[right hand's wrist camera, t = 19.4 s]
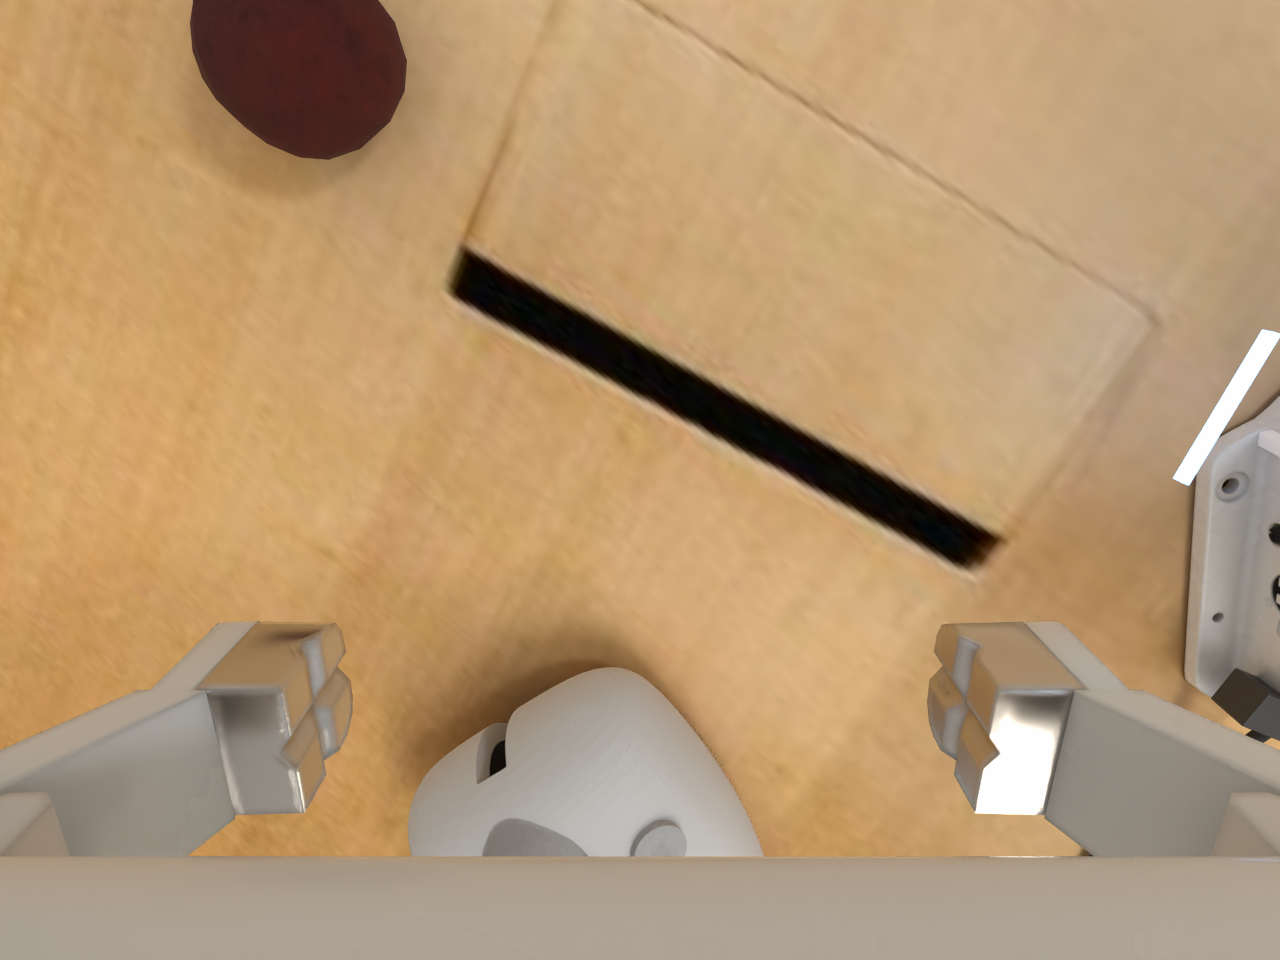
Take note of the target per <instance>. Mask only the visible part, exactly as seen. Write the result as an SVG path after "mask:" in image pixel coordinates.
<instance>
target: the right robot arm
mask: <svg viewBox="0 0 1280 960" xmlns="http://www.w3.org/2000/svg"><path fill="white" fill-rule="evenodd" d="M1279 337H1280V334H1279V333H1276V332H1272V331H1267V330H1262V331H1261V333H1260V334H1259V336H1258V338H1257V339H1256V341H1255V343H1254V344H1253V346H1252V348H1251V349H1250V351H1249V353H1248V354H1247V356H1246V358H1245V359H1244V361H1243V363H1242V364H1241V366H1240V368H1239V369H1238V371H1237V373H1236V374H1235V376H1234V378H1233V379H1232V381H1231V382H1230V384H1229V386H1228V387H1227V389H1226V391H1225V392H1224V394H1223V396H1222V397H1221V399H1220V401H1219V402H1218V404H1217V406H1216V407H1215V409H1214V411H1213V412H1212V414H1211V416H1210V417H1209V419H1208V421H1207V422H1206V424H1205V426H1204V427H1203V429H1202V431H1201V432H1200V434H1199V436H1198V437H1197V439H1196V441H1195V442H1194V444H1193V446H1192V447H1191V449H1190V451H1189V452H1188V454H1187V456H1186V457H1185V459H1184V461H1183V462H1182V464H1181V466H1180V467H1179V469H1178V471H1177V472H1176V474H1175V476H1174V477H1173V478H1174V479H1175V480H1177V481H1179V482H1181V483H1183V484H1186V485H1190V483H1191V481H1192V480H1193V478H1194V476H1195V475H1196V487H1195V503H1194V519H1193V535H1192V551H1191V567H1190V583H1189V599H1188V615H1187V631H1186V647H1185V666H1184V672H1185V679H1186V681H1187V682H1188V683H1189V684H1191V685H1192V686H1194V687H1195V688H1197V689H1198V690H1199V691H1201V692H1202V693H1204V694H1206V695H1207V696H1209V697H1210V698H1211V699H1212V700H1213V701H1214V702H1215V703H1216V704H1218V705H1219V706H1220V707H1221V708H1222V709H1223V710H1224V711H1226V712H1227V713H1228V714H1229V715H1230V716H1231V717H1233V718H1234V719H1235V720H1236V721H1237V722H1238V723H1239V724H1241V725H1242V726H1244V727H1246V728H1249V729H1251V731H1250V732H1249V733H1247V734H1246V735H1244V734H1241V733H1239V732H1237V731H1234V730H1232V729H1230V728H1228V727H1225V726H1223V725H1221V724H1218V723H1216V722H1214V721H1212V720H1209V719H1207V718H1205V717H1202V716H1200V715H1198V714H1196V713H1193V712H1191V711H1189V710H1187V709H1184V708H1182V707H1180V706H1177V705H1175V704H1173V703H1171V702H1168V701H1166V700H1164V699H1161V698H1159V697H1157V696H1155V695H1152V694H1150V693H1148V692H1145V691H1143V690H1129V689H1128V688H1127V687H1126V686H1125V685H1124V684H1123V683H1122V682H1121V681H1120V680H1119V679H1118V678H1117V677H1116V676H1115V675H1114V674H1113V673H1112V672H1111V671H1110V670H1109V669H1108V668H1107V667H1106V666H1105V665H1104V664H1103V663H1102V662H1101V661H1100V660H1099V659H1098V658H1097V657H1096V656H1095V655H1094V654H1093V653H1092V652H1091V651H1090V650H1089V649H1088V648H1087V647H1086V646H1085V645H1084V644H1083V643H1082V642H1081V641H1080V640H1079V639H1078V638H1077V637H1076V636H1075V635H1074V634H1073V633H1072V632H1071V631H1070V630H1069V629H1068V628H1067V627H1066V626H1065V625H1064V624H1061V623H1058V622H1055V621H1037V622H1002V623H962V624H943V625H941V627H940V630H939V632H938V634H937V637H936V643H935V649H934V652H935V654H936V656H937V657H938V659H939V660H940V662H941V663H942V665H943V667H942V668H941V669H940V670H939V671H938V672H937V673H936V674H935V675H934V676H933V677H932V678H931V679H930V681H929V690H928V698H927V705H928V716H929V723H930V726H931V730H932V733H933V736H934V738H935V740H936V742H937V744H938V746H939V748H940V750H941V751H943V752H944V753H946V754H947V755H949V756H950V757H952V758H953V759H955V760H956V766H955V772H954V775H955V777H956V779H957V781H958V783H959V784H960V786H961V788H962V790H963V792H964V793H965V795H966V797H967V799H968V801H969V802H970V804H971V806H972V808H973V809H974V811H975V813H990V814H1027V815H1045V819H1046V820H1048V821H1049V822H1050V823H1052V824H1053V825H1054V826H1055V827H1057V828H1058V829H1059V830H1061V831H1062V832H1063V833H1064V834H1066V835H1067V836H1068V837H1070V838H1071V839H1072V840H1073V841H1075V842H1076V843H1077V844H1078V845H1080V846H1081V847H1082V848H1084V849H1085V850H1086V851H1087V852H1089V853H1090V855H1089V856H188V855H189V854H190V853H191V852H193V851H194V850H195V849H197V848H198V847H199V846H200V845H202V844H203V843H204V842H206V841H207V840H208V839H209V838H211V837H212V836H213V835H215V834H216V833H217V832H218V831H220V830H221V829H222V828H224V827H225V826H226V825H227V824H229V823H230V822H231V821H233V820H234V819H235V815H252V814H288V813H305V811H306V810H307V808H308V806H309V804H310V802H311V801H312V799H313V797H314V795H315V793H316V792H317V790H318V788H319V786H320V784H321V783H322V781H323V779H324V777H325V775H326V772H325V766H324V760H325V759H327V758H328V757H330V756H331V755H333V754H334V753H336V752H337V751H339V750H340V748H341V746H342V744H343V742H344V740H345V738H346V736H347V734H348V730H349V725H350V721H351V717H352V700H353V695H352V688H351V681H350V679H349V678H348V677H347V676H346V675H345V674H344V673H343V672H342V671H341V670H340V669H339V668H338V667H337V665H338V663H339V662H340V660H341V659H342V657H343V656H344V654H345V652H346V649H345V644H344V639H343V634H342V630H341V629H340V628H339V627H338V626H337V625H336V623H305V622H260V621H238V622H223V623H218V624H217V625H216V626H215V627H214V628H213V629H212V630H211V631H210V632H209V633H208V634H207V635H206V636H205V637H204V638H203V639H202V640H201V641H199V642H198V643H197V644H196V645H195V646H194V647H193V648H192V649H191V650H190V651H189V652H188V653H187V654H186V655H185V656H184V657H183V658H182V659H181V660H180V661H179V662H178V663H177V664H176V665H175V666H174V667H173V668H172V669H171V670H170V671H169V672H168V673H167V674H166V675H165V676H164V677H163V678H162V679H161V680H160V681H159V682H158V683H157V684H156V685H155V686H154V687H153V688H152V689H151V690H137V691H135V692H132V693H130V694H128V695H125V696H123V697H121V698H119V699H116V700H114V701H112V702H109V703H107V704H105V705H103V706H100V707H98V708H96V709H93V710H91V711H89V712H87V713H84V714H82V715H80V716H77V717H75V718H73V719H71V720H68V721H66V722H64V723H61V724H59V725H57V726H54V727H52V728H50V729H48V730H45V731H43V732H41V733H38V734H36V735H34V736H32V737H29V738H27V739H25V740H22V741H20V742H18V743H16V744H13V745H11V746H9V747H6V748H4V749H2V750H0V960H1280V750H1278V749H1275V748H1273V747H1271V746H1269V745H1266V744H1264V742H1265V741H1267V740H1268V739H1270V738H1274V739H1276V740H1279V741H1280V395H1279V396H1278V397H1277V398H1276V399H1275V400H1274V401H1273V402H1272V403H1271V404H1270V405H1269V406H1268V407H1267V408H1266V409H1265V410H1264V411H1263V412H1262V413H1260V414H1259V415H1258V416H1257V417H1255V418H1254V419H1252V420H1250V421H1248V422H1246V423H1244V424H1242V425H1241V426H1239V427H1237V428H1235V429H1233V430H1231V431H1229V432H1228V433H1226V434H1224V435H1222V436H1221V437H1219V435H1220V434H1221V432H1222V431H1223V429H1224V427H1225V426H1226V424H1227V422H1228V421H1229V419H1230V417H1231V416H1232V414H1233V413H1234V411H1235V409H1236V408H1237V406H1238V404H1239V403H1240V401H1241V399H1242V398H1243V396H1244V395H1245V393H1246V391H1247V390H1248V388H1249V386H1250V385H1251V383H1252V381H1253V380H1254V378H1255V377H1256V375H1257V373H1258V372H1259V370H1260V368H1261V367H1262V365H1263V363H1264V362H1265V360H1266V359H1267V357H1268V355H1269V354H1270V352H1271V350H1272V349H1273V347H1274V346H1275V344H1276V342H1277V341H1278V339H1279ZM1218 437H1219V438H1218ZM1227 479H1229V481H1228V483H1227V485H1226V486H1224V487H1223V488H1222V485H1223V483H1224V482H1225V481H1226V480H1227Z"/></svg>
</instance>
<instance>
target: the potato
mask: <svg viewBox="0 0 1280 960" xmlns="http://www.w3.org/2000/svg"><path fill="white" fill-rule="evenodd" d="M190 27H191V38H192V49H193V53H194V56H195V59H196V62H197V64H198V67H199V70H200V73H201V76H202V78H203V80H204V81H205V83H206V84H207V86H208V87H209V89H210V91H211V92H212V94H213V95H214V97H215V98H216V100H217V101H218V102H219V103H220V104H221V105H222V106H223V107H224V108H225V109H227V110H228V111H229V112H230V113H231V114H232V115H233V116H234V117H235V118H236V119H237V120H238V121H239V122H240V123H241V124H242V125H243V126H244V127H246V128H247V129H248V130H250V131H251V132H252V133H254V134H255V135H256V136H258V137H259V138H260V139H262V140H263V141H264V142H266V143H267V144H270V145H272V146H274V147H276V148H279V149H281V150H283V151H286V152H288V153H290V154H293V155H295V156H298V157H301V158H314V159H328V160H329V159H332V158H335V157H338V156H340V155H343V154H346V153H349V152H352V151H355V150H358V149H360V148H361V147H362V146H364V145H365V144H366V143H367V142H368V141H369V140H370V139H371V138H372V137H374V136H375V135H376V134H377V133H378V132H379V131H380V130H381V129H382V128H383V127H385V126H386V125H387V124H388V123H389V122H390V121H391V119H392V117H393V114H394V112H395V110H396V108H397V106H398V104H399V102H400V100H401V97H402V95H403V93H404V91H405V78H406V65H407V60H406V57H405V54H404V51H403V48H402V44H401V41H400V38H399V35H398V32H397V28H396V25H395V22H394V21H393V19H392V18H391V17H390V15H389V14H388V13H387V11H386V10H385V9H384V7H383V6H382V5H381V3H380V2H379V1H378V0H193V7H192V13H191V20H190Z"/></svg>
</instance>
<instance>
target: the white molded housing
mask: <svg viewBox="0 0 1280 960" xmlns="http://www.w3.org/2000/svg"><path fill="white" fill-rule="evenodd" d="M408 838H409V846H410V852H411V856H764V854H763V851H762V848H761V845H760V842H759V840H758V837H757V835H756V832H755V830H754V827H753V825H752V823H751V821H750V819H749V816H748V814H747V812H746V810H745V808H744V806H743V804H742V803H741V801H740V799H739V797H738V795H737V794H736V792H735V790H734V788H733V786H732V785H731V783H730V782H729V780H728V778H727V777H726V775H725V774H724V772H723V771H722V769H721V767H720V766H719V764H718V763H717V761H716V760H715V759H714V757H713V756H712V754H711V753H710V751H709V750H708V749H707V747H706V746H705V745H704V743H703V742H702V740H701V739H700V738H699V736H698V735H697V734H696V732H695V731H694V730H693V729H692V727H691V726H690V725H689V724H688V722H687V721H686V720H685V719H684V717H683V716H682V715H681V714H680V713H679V712H678V710H677V709H676V708H675V707H674V706H673V705H672V704H671V702H670V701H669V700H668V699H667V698H666V697H665V696H664V695H663V694H662V693H661V692H660V691H659V690H658V689H657V688H656V687H654V686H653V685H652V684H651V683H650V682H648V681H647V680H646V679H645V678H644V677H642V676H640V675H639V674H637V673H635V672H633V671H631V670H628V669H624V668H619V667H606V668H599V669H594V670H590V671H586V672H583V673H581V674H578V675H576V676H574V677H571V678H569V679H567V680H565V681H563V682H561V683H559V684H558V685H556V686H554V687H552V688H550V689H548V690H547V691H545V692H543V693H542V694H540V695H538V696H537V697H535V698H533V699H532V700H530V701H528V702H527V703H525V704H523V705H522V706H520V707H519V708H517V709H516V710H515V711H514V712H513V714H512V716H511V718H510V720H509V723H494V724H492V725H490V726H488V727H486V728H485V729H483V730H482V731H480V732H479V733H477V734H475V735H474V736H472V737H471V738H469V739H468V740H466V741H465V742H463V743H462V744H460V745H459V746H458V747H456V748H455V749H453V750H452V751H451V752H449V753H448V754H447V755H445V756H444V757H443V758H442V759H441V760H440V761H438V762H437V763H436V764H435V765H434V766H433V767H432V768H431V769H430V771H429V772H428V773H427V774H426V776H425V777H424V779H423V780H422V782H421V784H420V785H419V787H418V789H417V791H416V793H415V796H414V798H413V801H412V804H411V808H410V813H409V820H408Z"/></svg>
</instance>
